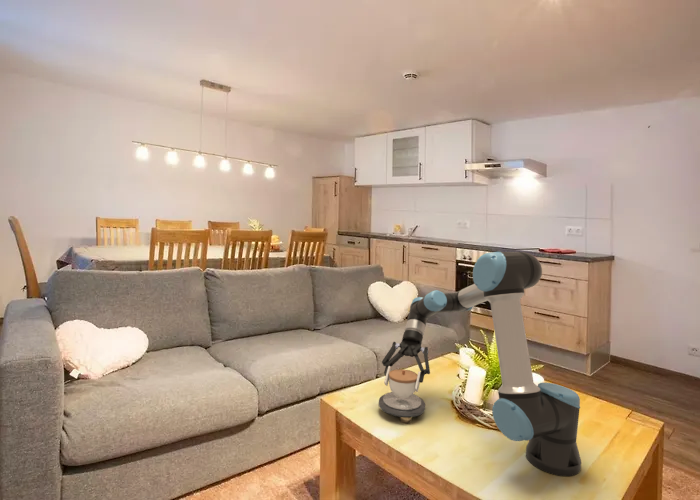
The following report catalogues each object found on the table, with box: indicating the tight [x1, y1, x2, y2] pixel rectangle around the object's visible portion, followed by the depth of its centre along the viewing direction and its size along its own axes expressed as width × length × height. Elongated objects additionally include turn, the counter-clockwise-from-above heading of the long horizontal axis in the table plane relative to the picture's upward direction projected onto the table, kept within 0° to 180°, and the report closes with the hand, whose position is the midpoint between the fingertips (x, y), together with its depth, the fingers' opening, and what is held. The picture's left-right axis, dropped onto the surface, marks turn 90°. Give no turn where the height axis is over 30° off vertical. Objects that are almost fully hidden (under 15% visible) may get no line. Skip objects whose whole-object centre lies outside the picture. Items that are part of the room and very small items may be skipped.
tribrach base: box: [378, 391, 426, 424], centre depth 155 cm, size 17×17×5 cm
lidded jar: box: [388, 368, 418, 399], centre depth 154 cm, size 11×11×9 cm
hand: (400, 387), depth 151 cm, fingers closed on lidded jar, 11 cm apart
